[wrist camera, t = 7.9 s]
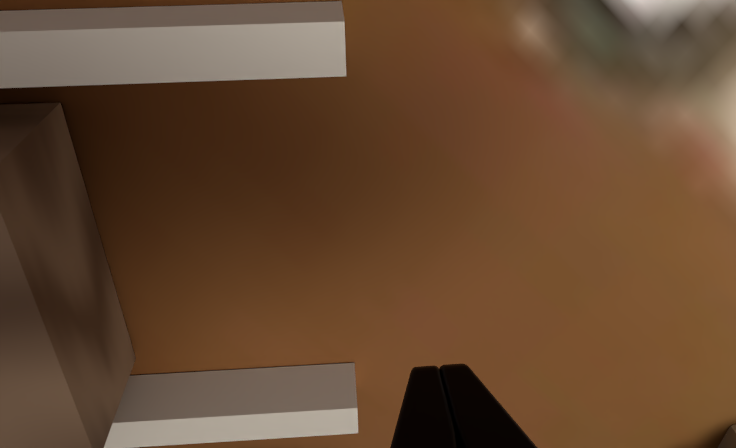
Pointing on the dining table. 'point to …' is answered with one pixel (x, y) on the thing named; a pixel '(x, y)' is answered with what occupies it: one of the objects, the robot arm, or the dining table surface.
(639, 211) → the dining table surface
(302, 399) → the bay
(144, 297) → the dining table surface
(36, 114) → the carriage
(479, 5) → the dining table surface
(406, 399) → the robot arm
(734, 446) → the valve
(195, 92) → the dining table surface
